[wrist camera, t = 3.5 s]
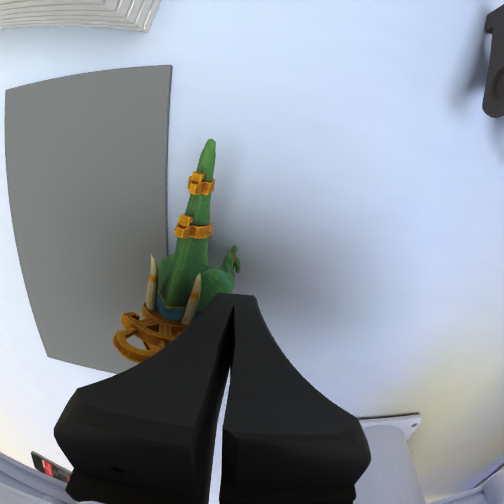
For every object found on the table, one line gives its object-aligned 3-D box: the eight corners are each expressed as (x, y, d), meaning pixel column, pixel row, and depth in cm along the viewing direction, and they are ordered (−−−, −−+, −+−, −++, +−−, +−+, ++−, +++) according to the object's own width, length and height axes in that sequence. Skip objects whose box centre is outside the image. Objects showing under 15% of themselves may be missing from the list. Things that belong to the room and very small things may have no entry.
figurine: (170, 339, 18) (96, 441, 11) (216, 127, 13) (93, 130, 6) (219, 359, 18) (161, 474, 10) (284, 146, 13) (227, 165, 6)
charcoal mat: (176, 381, 19) (175, 384, 19) (49, 354, 19) (47, 356, 19) (172, 65, 12) (170, 65, 12) (9, 89, 12) (5, 90, 12)
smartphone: (30, 451, 27) (135, 501, 29) (32, 447, 28) (137, 497, 30) (35, 468, 30) (128, 512, 32) (36, 465, 31) (129, 508, 33)
